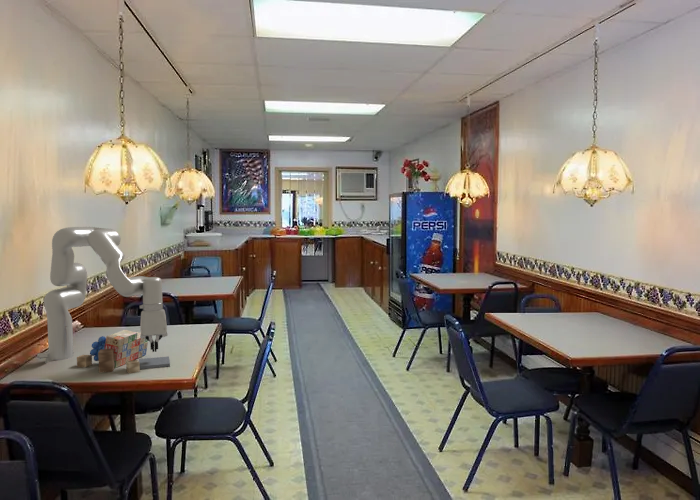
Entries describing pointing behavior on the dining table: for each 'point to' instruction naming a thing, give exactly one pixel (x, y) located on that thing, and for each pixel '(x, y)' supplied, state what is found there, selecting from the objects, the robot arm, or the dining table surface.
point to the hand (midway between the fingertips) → (154, 351)
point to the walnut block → (106, 360)
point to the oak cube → (84, 360)
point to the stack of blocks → (126, 346)
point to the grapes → (98, 347)
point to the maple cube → (133, 366)
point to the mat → (154, 362)
